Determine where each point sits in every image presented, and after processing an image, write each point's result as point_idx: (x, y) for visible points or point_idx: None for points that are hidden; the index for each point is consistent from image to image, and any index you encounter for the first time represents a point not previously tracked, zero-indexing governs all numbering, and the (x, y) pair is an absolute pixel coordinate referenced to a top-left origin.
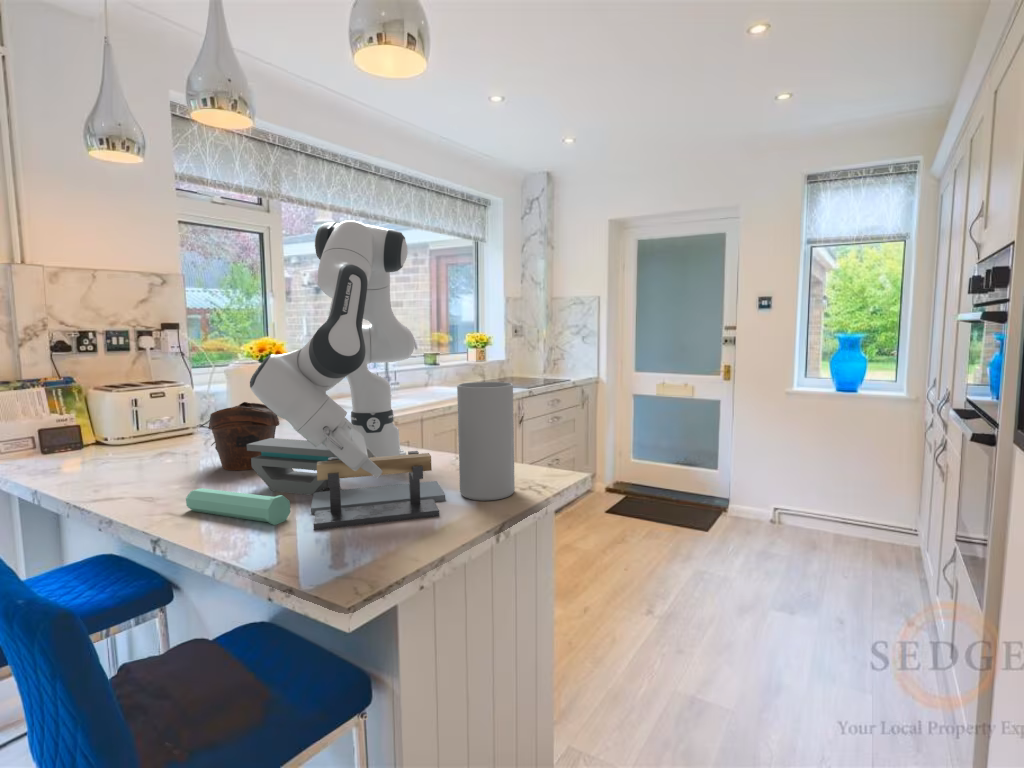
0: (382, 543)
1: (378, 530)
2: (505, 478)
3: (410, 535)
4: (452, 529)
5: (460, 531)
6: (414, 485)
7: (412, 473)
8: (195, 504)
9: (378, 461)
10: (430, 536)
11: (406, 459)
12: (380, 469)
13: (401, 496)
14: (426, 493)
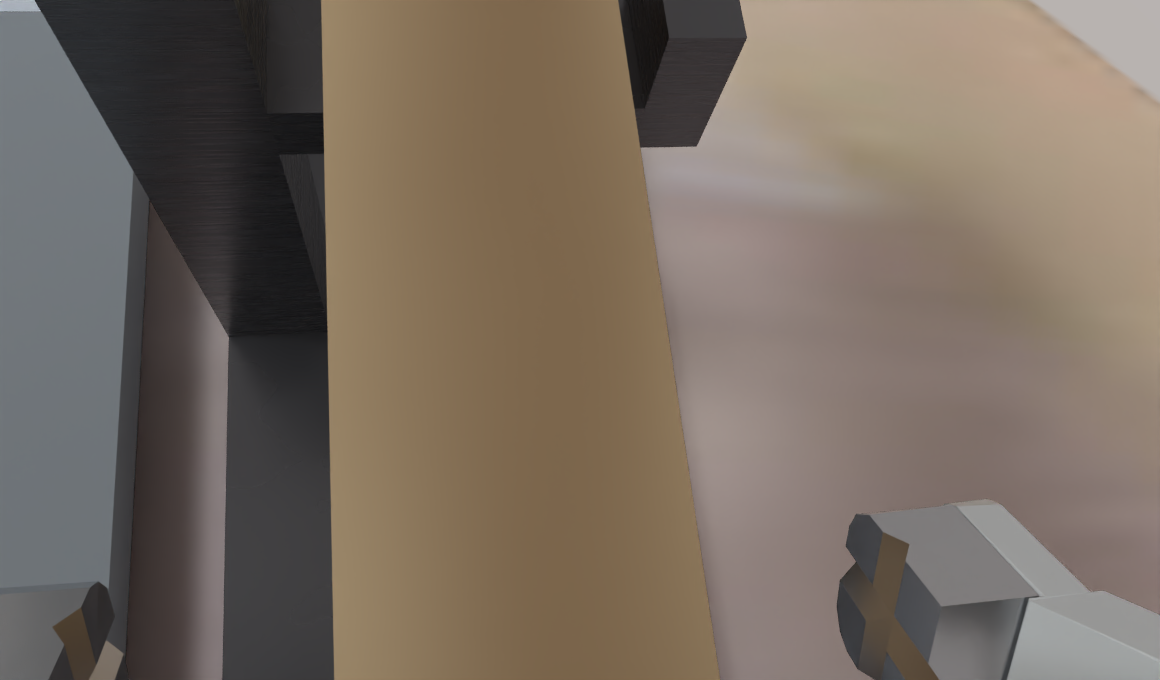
0: (1131, 602)
1: (844, 650)
2: None
3: (979, 387)
4: (885, 104)
5: (928, 65)
6: (307, 199)
7: (661, 105)
8: None
9: (692, 561)
10: (1006, 254)
11: (619, 38)
12: (1016, 524)
13: (2, 414)
14: (5, 160)
